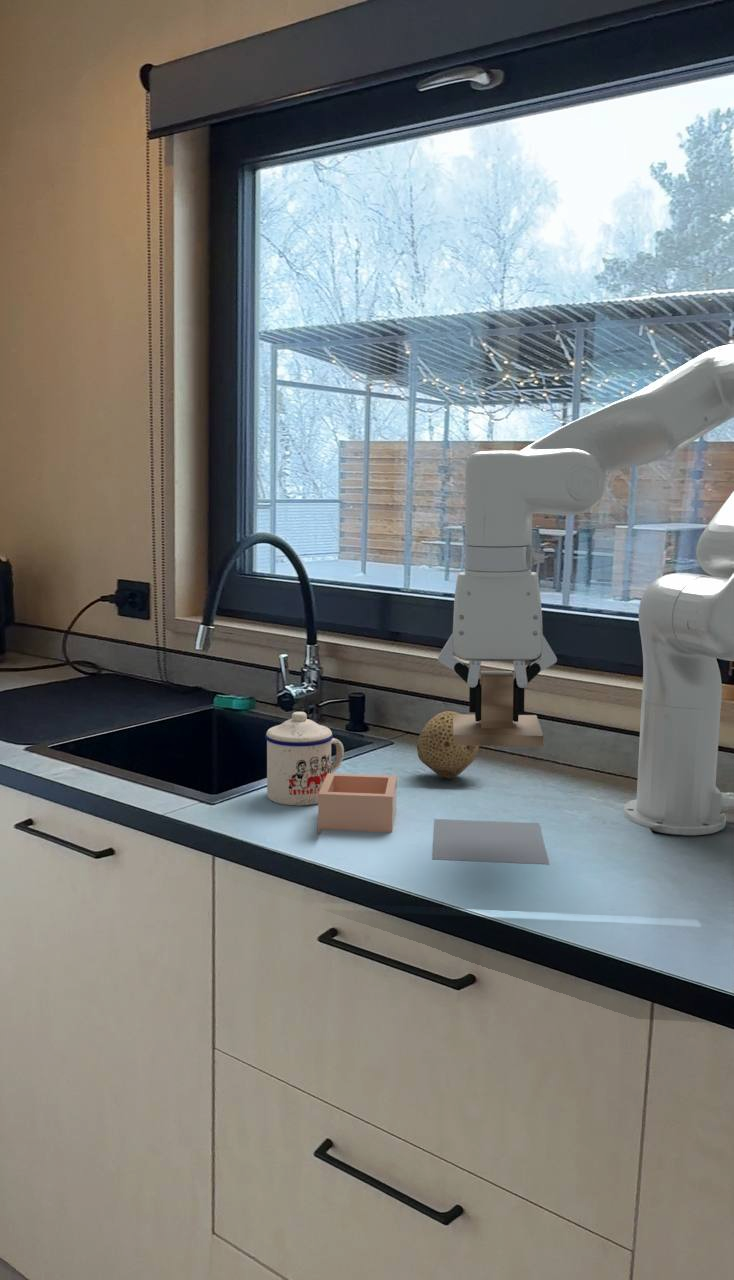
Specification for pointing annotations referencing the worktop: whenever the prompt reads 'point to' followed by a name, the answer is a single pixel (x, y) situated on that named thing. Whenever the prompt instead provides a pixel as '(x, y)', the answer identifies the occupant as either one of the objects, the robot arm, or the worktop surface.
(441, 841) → the mat
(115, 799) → the worktop surface
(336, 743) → the teacup with lid
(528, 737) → the lid
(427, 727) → the natural sponge
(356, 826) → the dish
